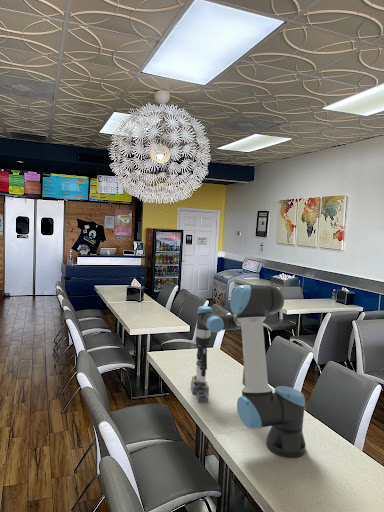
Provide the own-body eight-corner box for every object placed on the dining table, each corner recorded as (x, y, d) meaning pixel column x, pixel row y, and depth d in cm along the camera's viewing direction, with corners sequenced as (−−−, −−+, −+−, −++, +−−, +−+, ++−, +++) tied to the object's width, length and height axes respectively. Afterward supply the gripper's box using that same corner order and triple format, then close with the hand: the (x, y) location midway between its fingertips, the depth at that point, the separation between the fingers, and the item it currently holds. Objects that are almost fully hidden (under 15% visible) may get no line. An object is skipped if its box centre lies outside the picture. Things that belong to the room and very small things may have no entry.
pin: (205, 392, 201) (207, 364, 200) (195, 392, 201) (197, 364, 200) (203, 388, 207) (205, 360, 206) (194, 388, 206) (195, 360, 205)
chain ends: (211, 402, 191) (212, 395, 191) (194, 402, 190) (195, 395, 190) (203, 380, 218) (203, 374, 217) (188, 380, 217) (189, 374, 216)
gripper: (214, 343, 190) (211, 386, 191) (206, 330, 214) (204, 368, 216) (199, 343, 189) (196, 386, 190) (193, 329, 214) (190, 367, 215)
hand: (200, 376), depth 203 cm, fingers open, 13 cm apart
